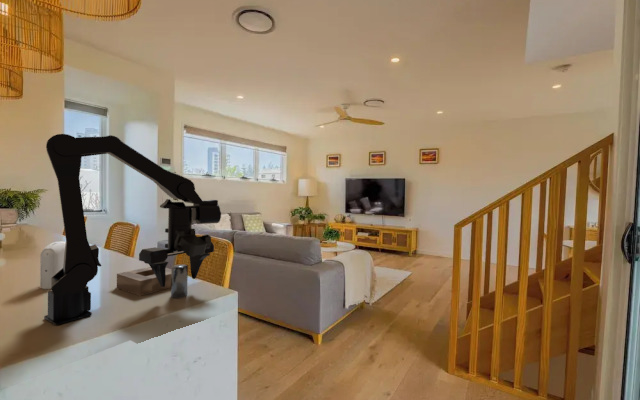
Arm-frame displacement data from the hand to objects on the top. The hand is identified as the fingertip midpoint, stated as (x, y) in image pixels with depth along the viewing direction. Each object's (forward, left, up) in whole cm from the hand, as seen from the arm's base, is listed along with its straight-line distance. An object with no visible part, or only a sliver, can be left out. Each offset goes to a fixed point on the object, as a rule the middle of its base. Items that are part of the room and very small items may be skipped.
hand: (179, 282), depth 82 cm
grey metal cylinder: (0, 0, -4) cm, 4 cm away
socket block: (0, +14, -4) cm, 14 cm away
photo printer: (-14, +37, -4) cm, 40 cm away
